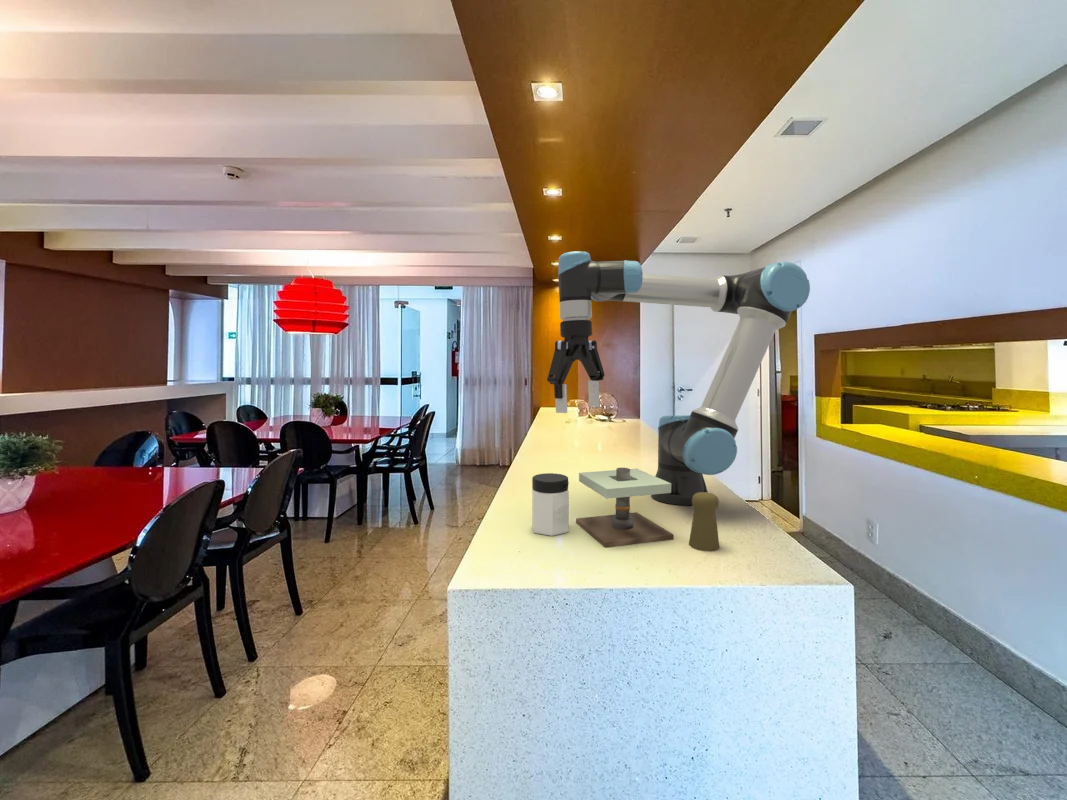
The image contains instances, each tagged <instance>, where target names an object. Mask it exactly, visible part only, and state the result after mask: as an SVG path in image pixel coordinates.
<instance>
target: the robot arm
mask: <svg viewBox="0 0 1067 800" xmlns="http://www.w3.org/2000/svg"><path fill="white" fill-rule="evenodd" d="M557 277H558V293H559V294H558V296H559V299H558V300H559V319H560V320H562V321H560V323H559V327H560V328H559V332H560V337H561V338H564V339H563V340H555V342H554V352H553V356H552V359H551V364H550V367H549V371H548V375H547V382H548V383H549V384H550V385H553V387H554V390H553V391H554V399H555V400H554V402H555V413H557V414H559V413H560V414H568V395H567V393H568V392H567V384H565V381H566V379H567V376H568V375H569V372H570V370H571V368H572V366H573V363H574V362H576V360H577V361H579V362H581V365H582V366H583V368H584V370H585V371H586V374H587V376H588V378H589V379H590V380H587V381H588V382H587V383H588V385H587V386H588V389H587V390H588V393H587V394H588V407H591V408H592V407H593V408H600V403H601V402H600V381H604V377H605V371H604V368H603V367H604V366H603V364H602V361H601V358H600V355H599V351H598V345H597V341H596V340H594V339H593V340H589V337H591V336H592V335H593V321H592V320H590V319H592V317H593V309H592V305H593V304H592V300H593V301H594V302H607V301H609V302H610V301H614V302H629V303H631V302H632V303H643V304H644V303H645V304H656V305H657V304H659V305H671V306H683V307H684V306H686V307H687V306H688V307H696V308H697V307H701V308H710V309H711V311H713V312H715V313H726V314H734V315H738V316H739V320H738V322H737V325H736V327H735V330H734V332H733V335H732V336H731V338H730V341H729V343H728V345H727V348H726V349H725V352H724V355H723V357H722V358H721V361H720V364H719V366H718V368H717V370H716V372H715V375H714V376H713V379H712V380H711V384H710V386H709V387H708V391H707V392H706V394H705V396H704V399H703V401H702V403H701V406H700V407H698V408H695V409H693V410H691V413H690V415H689V414H688V415H687V414H685V415H684V414H683V415H662V416H661V417H660V418H659V420H658V427H657V430H658V433H657V434H658V442H657V443H658V444H657V446H658V447H657V448H658V449H657V470H656V473H655V477H657V478H660V479H662V480H664V481H667V482H669V483H671V493H664V494H653V495H650V497H651V498H652V499H653V500H656V501H658V502H660V503H664V504H669V505H670V504H671V505H679V506H693V505H692V498H693V495H694V494H696V493H698V492H708V493H709V491H708V488H707V485H706V481H705V479H704V478H705V477H704V475H707V476H715V475H718V474H721V473H723V472H725V471H727V470H728V469H729V468H730V467H731V466H732V465H733V463H734V462H735V460H736V458H737V453H738V446H737V443H736V442H737V441H736V439H735V438H736V436H737V434H738V431H739V427H738V424H737V422H736V421H737V420H736V419H737V417H738V415H739V413H740V411H741V409H742V406H743V403H744V401H745V400H746V397H747V395H748V392H749V391H750V389H751V386H752V384H753V382H754V380H755V377H756V375H757V372H758V370H759V369H760V367H761V364H762V361H763V359H764V357H765V354H766V353H767V350H768V348H769V346H770V344H771V342H772V339H773V337H774V336H775V335H774V334H775V333H776V331H778V330H779V329H782V328H784V327H785V326H786V325H787V323H788V322H789V319H790V316H791V314H792V312H793V311H796V310H799V308H801V307H803V305H804V304H805V303H807V301H808V299H809V296H810V292H811V286H810V285H811V284H810V280H809V279H808V275H807V273H806V272H805V270H804V269H803V267H800V266H799V265H798V264H796V263H794V262H791V261H780V262H773V263H770V264H768V265H767V266H763V267H760V268H757V269H754V270H750V271H747V272H744V273H739V274H734V275H721V274H719V275H717V276H716V277H714V278H711V277H710V278H709V277H708V278H707V277H696V276H695V277H694V276H684V275H683V276H681V275H670V274H669V275H668V274H656V273H655V274H654V273H643V267H642V265H641V264H640V262H639V261H636V260H627V259H624V260H613V261H612V260H609V261H607V260H605V261H604V260H603V261H594V260H592V259H591V254H590V253H589V252H588V251H580V250H577V251H568V252H564V253H563V254H561V255H560V256H559V257H558V273H557Z"/></svg>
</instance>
